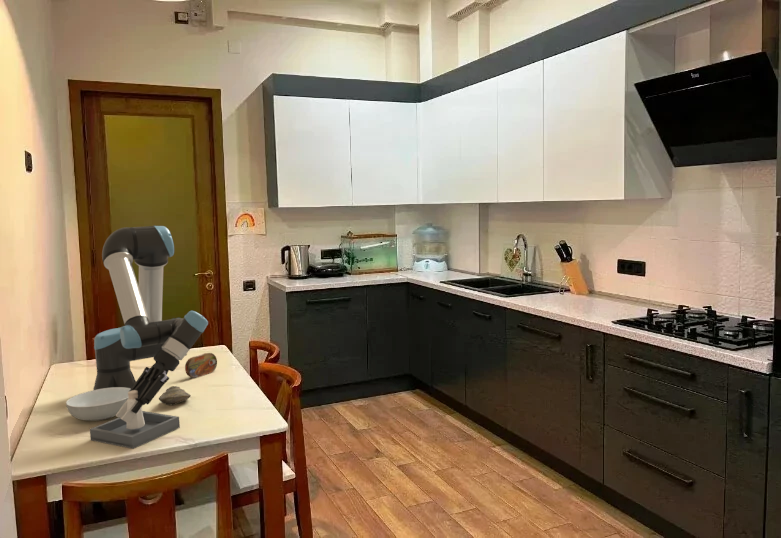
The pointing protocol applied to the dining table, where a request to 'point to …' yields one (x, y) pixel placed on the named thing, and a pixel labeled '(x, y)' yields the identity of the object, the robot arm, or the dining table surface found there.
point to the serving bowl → (97, 403)
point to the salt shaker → (138, 418)
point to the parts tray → (134, 430)
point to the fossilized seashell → (174, 396)
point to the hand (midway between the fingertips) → (122, 419)
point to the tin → (201, 365)
